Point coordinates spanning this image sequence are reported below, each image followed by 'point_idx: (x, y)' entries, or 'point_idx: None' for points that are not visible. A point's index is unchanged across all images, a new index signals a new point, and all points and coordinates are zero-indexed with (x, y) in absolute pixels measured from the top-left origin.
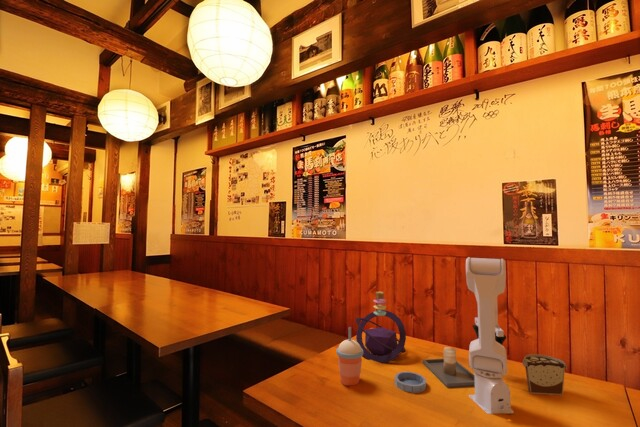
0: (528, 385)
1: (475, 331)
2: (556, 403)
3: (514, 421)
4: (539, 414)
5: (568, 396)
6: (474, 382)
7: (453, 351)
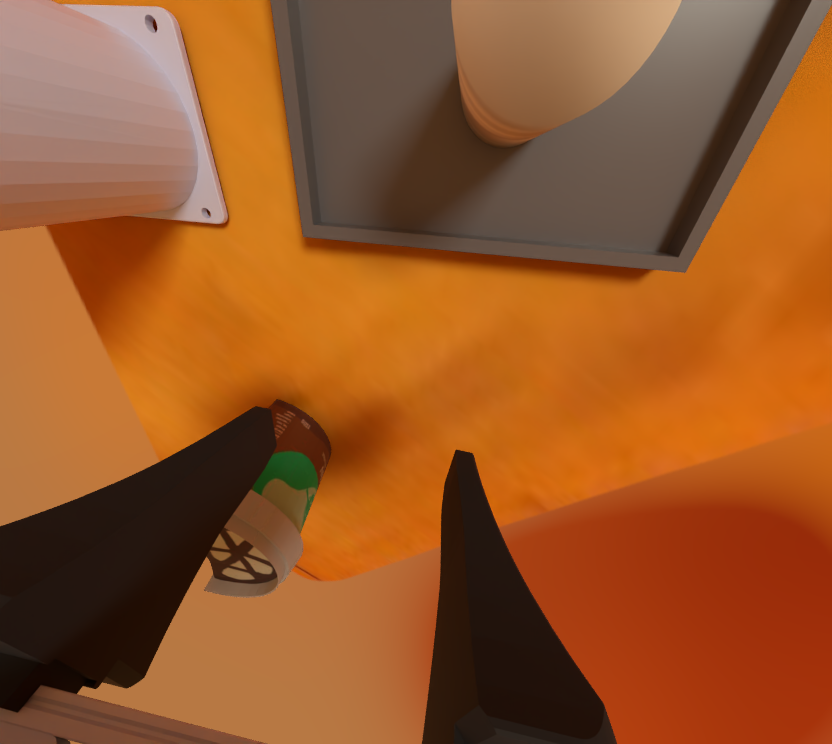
0: (275, 417)
1: (524, 606)
2: (220, 419)
3: None
4: (124, 314)
5: None
6: (295, 173)
7: (456, 5)
